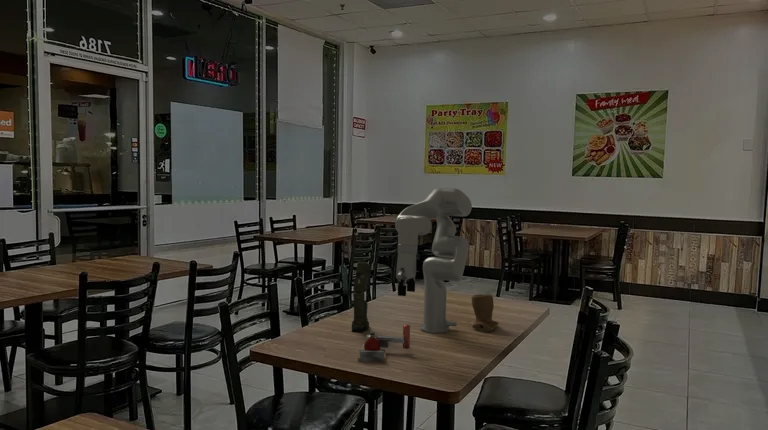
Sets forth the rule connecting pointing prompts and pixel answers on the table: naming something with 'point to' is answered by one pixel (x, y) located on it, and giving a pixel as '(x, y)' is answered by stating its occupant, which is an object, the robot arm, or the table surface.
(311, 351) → the table surface
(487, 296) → the brown boot
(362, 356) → the base
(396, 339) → the lever
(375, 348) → the onion
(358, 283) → the mechanical leg
